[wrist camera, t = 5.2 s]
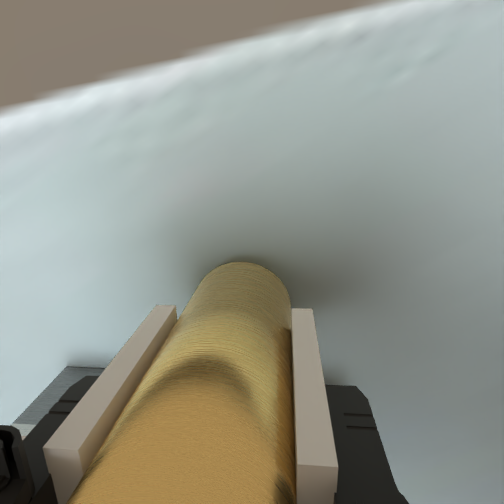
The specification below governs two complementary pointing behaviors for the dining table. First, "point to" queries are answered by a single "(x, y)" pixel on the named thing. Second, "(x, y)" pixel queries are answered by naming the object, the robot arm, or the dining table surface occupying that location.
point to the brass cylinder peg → (209, 405)
